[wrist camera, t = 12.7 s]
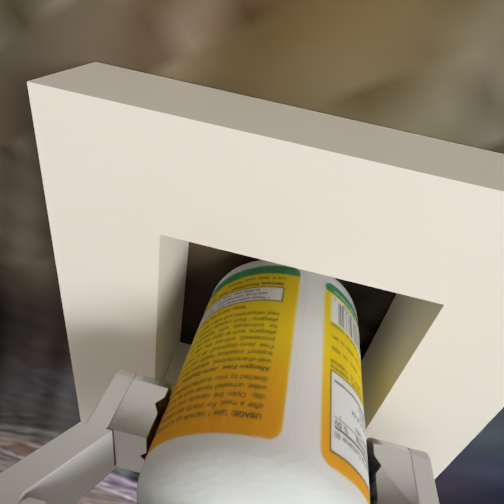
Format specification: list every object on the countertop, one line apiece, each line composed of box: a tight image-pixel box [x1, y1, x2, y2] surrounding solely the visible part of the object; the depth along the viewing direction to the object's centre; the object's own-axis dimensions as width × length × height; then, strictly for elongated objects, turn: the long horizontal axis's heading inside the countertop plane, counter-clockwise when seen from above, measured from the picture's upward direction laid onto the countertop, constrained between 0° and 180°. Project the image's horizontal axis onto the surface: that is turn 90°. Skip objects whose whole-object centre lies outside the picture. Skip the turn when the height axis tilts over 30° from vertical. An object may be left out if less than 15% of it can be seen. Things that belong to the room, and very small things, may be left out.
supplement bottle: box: [137, 260, 370, 504], centre depth 10 cm, size 5×5×10 cm
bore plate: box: [27, 62, 504, 480], centre depth 13 cm, size 14×14×3 cm
